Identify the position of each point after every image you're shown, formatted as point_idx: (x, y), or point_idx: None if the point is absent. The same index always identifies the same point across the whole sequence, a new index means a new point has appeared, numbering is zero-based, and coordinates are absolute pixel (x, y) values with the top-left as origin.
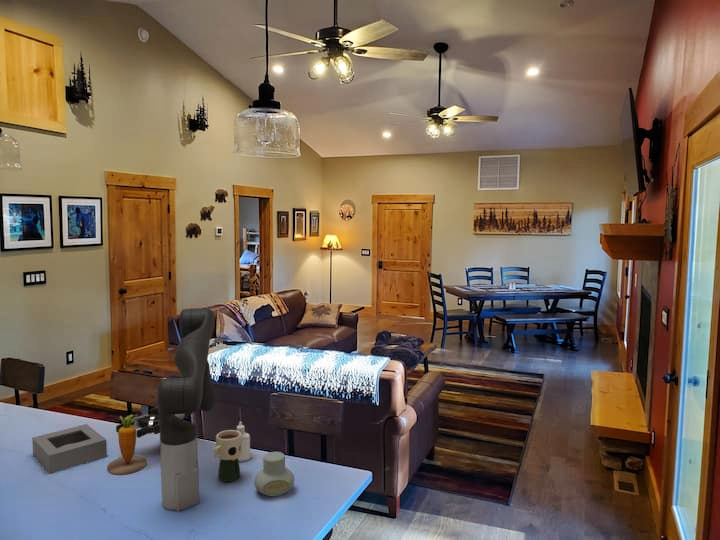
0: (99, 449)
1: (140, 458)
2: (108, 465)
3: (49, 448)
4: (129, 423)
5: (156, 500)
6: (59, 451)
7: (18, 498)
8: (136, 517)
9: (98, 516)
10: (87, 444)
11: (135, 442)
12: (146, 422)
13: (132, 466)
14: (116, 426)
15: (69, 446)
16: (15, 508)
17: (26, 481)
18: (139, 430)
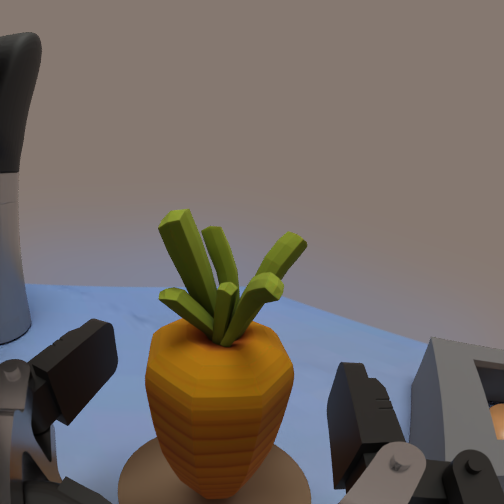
0: None
1: None
2: (291, 461)
3: (480, 353)
4: (191, 296)
5: (41, 332)
6: (443, 354)
7: (344, 326)
8: (72, 304)
9: (139, 307)
10: (445, 409)
11: (160, 445)
12: (70, 481)
13: (169, 471)
14: (357, 365)
15: (465, 377)
16: (311, 312)
17: (409, 356)
18: (90, 321)
